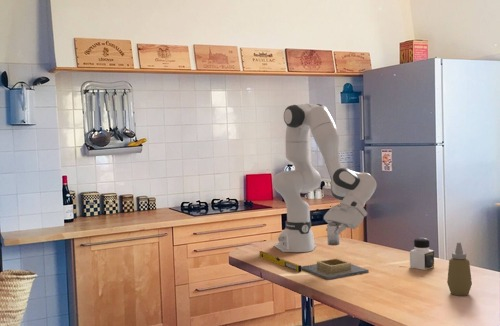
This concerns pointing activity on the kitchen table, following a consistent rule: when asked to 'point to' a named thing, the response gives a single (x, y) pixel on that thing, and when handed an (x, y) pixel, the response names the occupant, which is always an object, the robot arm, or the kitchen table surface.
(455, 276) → the squeeze bottle
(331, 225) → the domed metal canister
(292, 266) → the spirit level
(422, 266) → the medicine bottle
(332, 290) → the kitchen table surface
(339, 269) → the collar plate
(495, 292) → the kitchen table surface
